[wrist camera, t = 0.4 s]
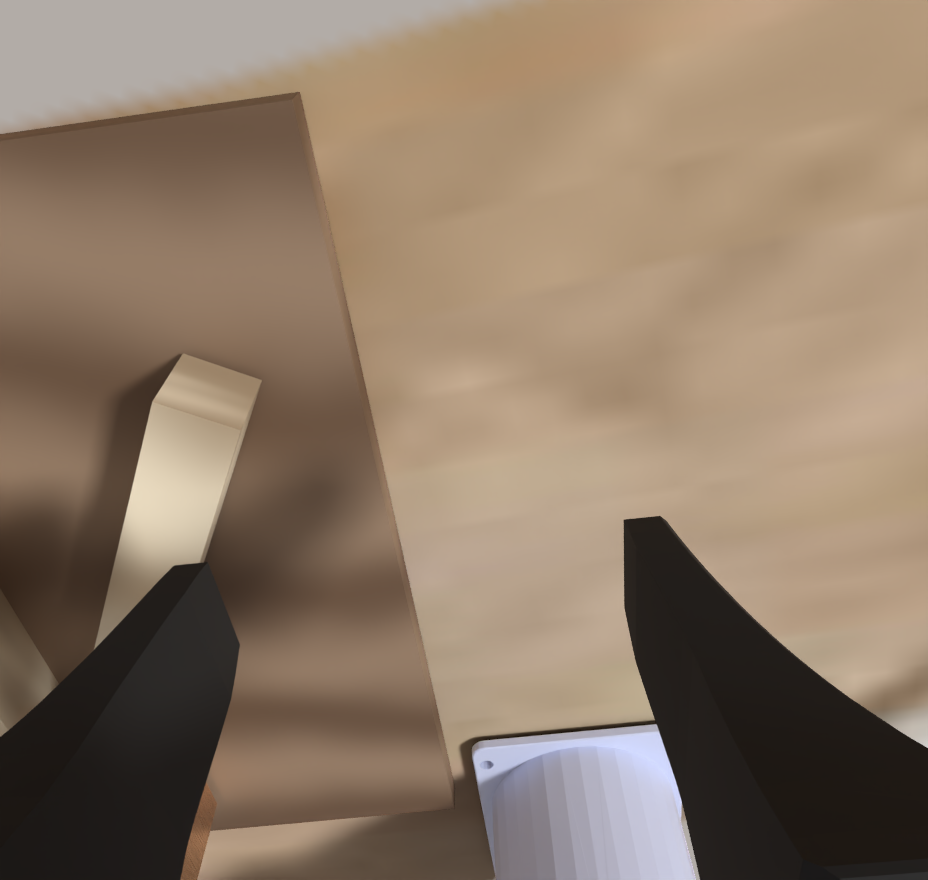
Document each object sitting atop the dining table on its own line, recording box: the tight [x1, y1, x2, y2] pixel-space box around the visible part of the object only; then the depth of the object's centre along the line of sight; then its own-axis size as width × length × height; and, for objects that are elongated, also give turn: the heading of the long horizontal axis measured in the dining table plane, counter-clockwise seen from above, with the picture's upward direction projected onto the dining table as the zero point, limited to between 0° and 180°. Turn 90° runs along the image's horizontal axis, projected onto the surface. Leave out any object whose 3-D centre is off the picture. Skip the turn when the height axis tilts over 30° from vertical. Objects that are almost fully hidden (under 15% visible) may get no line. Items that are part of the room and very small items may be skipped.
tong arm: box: [94, 353, 262, 649], centre depth 22 cm, size 13×2×2 cm, turn 157°
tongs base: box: [0, 92, 455, 831], centre depth 23 cm, size 26×18×4 cm
